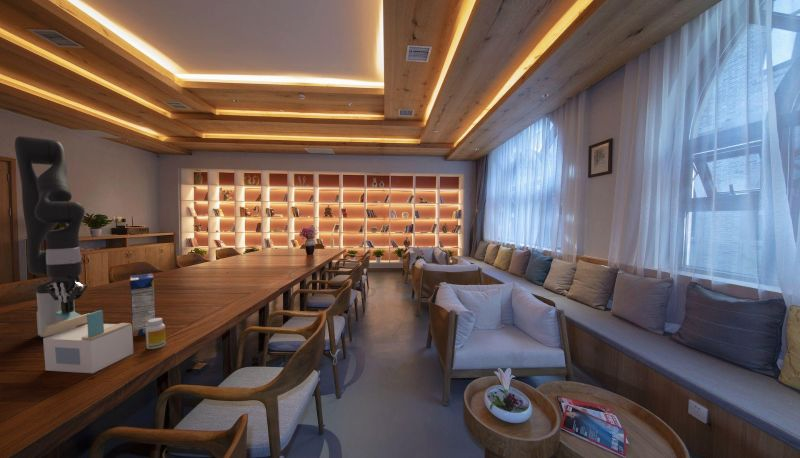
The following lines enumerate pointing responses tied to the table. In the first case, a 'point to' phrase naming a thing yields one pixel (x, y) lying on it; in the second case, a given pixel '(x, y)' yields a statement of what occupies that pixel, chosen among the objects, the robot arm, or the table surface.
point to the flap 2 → (100, 326)
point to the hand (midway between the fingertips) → (68, 312)
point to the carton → (86, 349)
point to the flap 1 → (65, 322)
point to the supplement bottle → (155, 334)
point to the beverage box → (142, 302)
